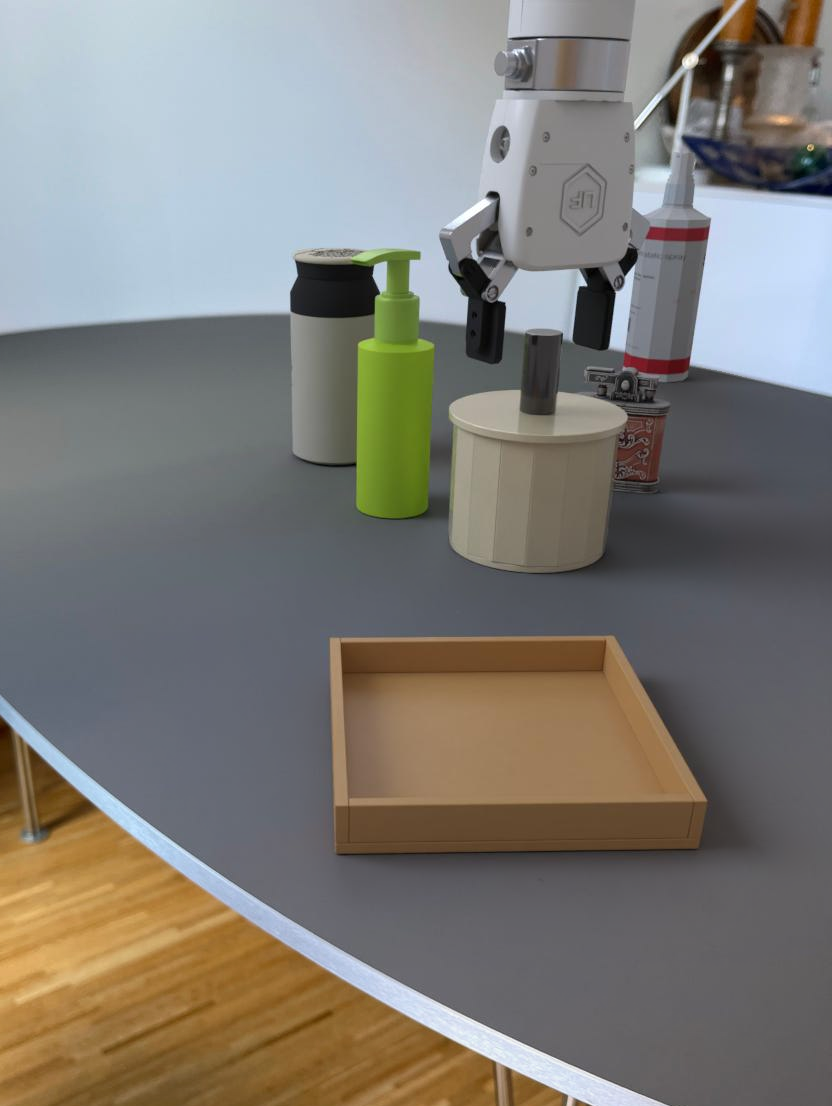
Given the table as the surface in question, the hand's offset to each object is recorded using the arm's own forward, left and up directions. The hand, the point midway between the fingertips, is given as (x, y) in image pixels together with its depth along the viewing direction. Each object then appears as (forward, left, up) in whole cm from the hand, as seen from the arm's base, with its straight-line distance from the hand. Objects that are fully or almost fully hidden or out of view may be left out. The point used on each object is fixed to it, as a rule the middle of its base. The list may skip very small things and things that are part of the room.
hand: (538, 353), depth 74 cm
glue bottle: (-26, -56, -14) cm, 63 cm away
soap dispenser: (+10, -8, -14) cm, 19 cm away
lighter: (-10, -14, -14) cm, 22 cm away
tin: (0, 0, -14) cm, 14 cm away
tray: (+7, +29, -14) cm, 33 cm away
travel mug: (+14, -23, -14) cm, 30 cm away
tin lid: (0, 0, -5) cm, 5 cm away
